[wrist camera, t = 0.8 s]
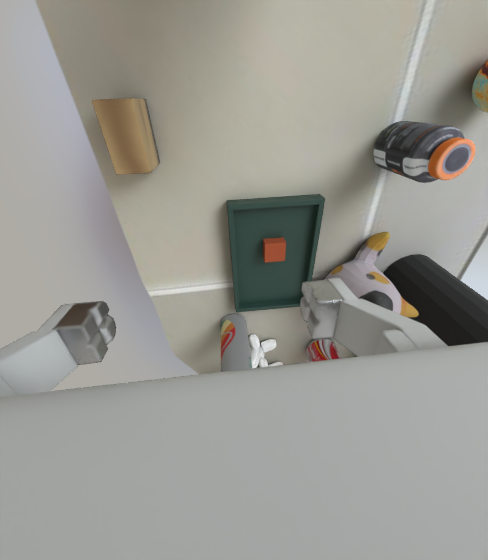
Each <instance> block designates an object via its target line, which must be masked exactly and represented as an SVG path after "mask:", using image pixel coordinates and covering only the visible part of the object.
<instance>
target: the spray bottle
mask: <svg viewBox="0 0 488 560" xmlns="http://www.w3.org/2000/svg"><path fill="white" fill-rule="evenodd" d="M220 334H221V372H225V371H234V370H243V369H252V361H251V353H250V346H249V338H248V331H247V324H246V320H245V318H244V317H243V316H241V315H238V314H230V315H227V316H225V317H224V318H223V319H222V321H221V325H220Z"/></svg>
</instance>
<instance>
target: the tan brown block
mask: <svg viewBox="0 0 488 560" xmlns="http://www.w3.org/2000/svg"><path fill="white" fill-rule="evenodd" d="M92 103H93V106H94V109H95V112H96V115H97V118H98V121H99V124H100V127H101V130H102V133H103V136H104V139H105V142H106V145H107V148H108V151H109V154H110V157H111V160H112V163H113V166H114V169H115V172H116V174H117V175H119V174H136V173H151V172H152V171H153V170H154V169H155V168H156V167H157V166H158V165H159V163H160V160H159V156H158V151H157V147H156V143H155V138H154V134H153V129H152V125H151V120H150V116H149V111H148V107H147V102H146V99H137V98H123V99H100V100H92Z"/></svg>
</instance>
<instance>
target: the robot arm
mask: <svg viewBox="0 0 488 560" xmlns="http://www.w3.org/2000/svg"><path fill="white" fill-rule="evenodd" d="M301 291H302V293H303V295H304V296H303V297H302V298H301V304H300V307H301V313H302V317H303V319H304V321H306V322H308V330H309V332H310V334H311V336H312V338H313V339H322V338H334V339H335V340H336V341H338V342H339V343H340V344H342V345H343V346H344V347H346V348H347V349H348V350H350V351H351V352H352V353H354V354H355V355H357V356H358V357H349V358H341V359H332V360H323V361H315V362H306V363H297V364H288V365H279V366H270V367H261V368H252V369H243V370H234V371H225V372H216V373H208V374H199V375H190V376H181V377H173V378H164V379H156V380H146V381H137V382H128V383H120V384H111V385H102V386H93V387H84V388H75V389H66V390H57V391H51V390H52V389H53V388H54V387H56V386H57V385H58V384H59V383H60V382H61V381H62V380H63V379H65V378H66V377H67V376H68V375H69V374H70V373H71V372H73V371H74V370H75V369H76V368H77V367H78V365H83V364H91V363H98V362H101V361H102V359H103V358H104V355H105V354H106V352H107V350H108V348H107V344H109V343H110V342H111V341H112V340H113V339H114V336H115V333H116V325H115V321H114V319H113V318H112V317H111V316H109V315H108V312H109V308H108V306H107V304H106V303H105V302H103V301H99V302H85V303H73V304H65V305H61V306H60V307H59V308H58V309H57V311H56V312H54V314H53V315H52V316H51V317H50V318H49V319H48V320H47V321H46V322H45V323H44V324H43V325H42V326H41V327H40V328H39V329H38V330H37V331H36V332H31V333H29V334H28V335H26V336H24V337H22V338H20V339H18V340H16V341H14V342H13V343H10V344H9V345H7V346H5V347H3V348H1V349H0V560H488V342H482V343H473V344H465V345H456V346H447V345H446V344H445V343H444V342H443V341H442V340H441V339H440V338H439V337H438V336H437V335H435V334H434V333H433V332H432V331H431V330H430V329H429V328H428V327H427V326H426V325H424V324H421V323H419V322H417V321H414V320H412V319H409V318H407V317H405V316H402V315H400V314H397V313H395V312H393V311H390V310H388V309H385V308H383V307H381V306H378V305H376V304H373V303H371V302H369V301H366V300H364V299H358V298H357V297H356V296H355V295H354V294H353V293H352V291H351V290H350V289H349V288H348V287H347V286H346V285H345V283H344V282H343V281H342V280H341V279H340V278H332V279H325V280H316V281H308V282H303V284H302V290H301Z"/></svg>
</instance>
